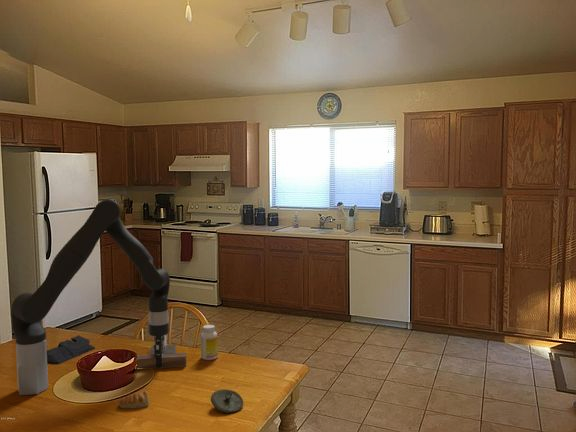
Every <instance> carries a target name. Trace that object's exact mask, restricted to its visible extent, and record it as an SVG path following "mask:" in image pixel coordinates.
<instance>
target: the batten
mask: <svg viewBox="0 0 576 432" xmlns="http://www.w3.org/2000/svg"><path fill="white" fill-rule="evenodd" d="M157 355H160V354H157ZM136 356H137V366H136V369H137V368H153V369H158V368H157V367H156V358H155V355H149V354H145V355H144V354H142V355H138V354H137V355H136ZM162 356H163V357H162V367H161V368H160V369H167V368H181V367H182V368H184V367H187V352H178V353H177V352H175V353H172V354H162ZM137 370H138V369H137Z"/></svg>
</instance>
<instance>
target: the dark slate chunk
mask: <svg viewBox="0 0 576 432" xmlns="http://www.w3.org/2000/svg"><path fill="white" fill-rule="evenodd" d="M90 342H91V341H90V340H89V338H86V337H83V336H81V335H76V336H74V337H72V338H70V340H69V339H66V340H64V341H60V342H59V343H58V345H57V346H56V347H53V348H50V349H48V350H47V363H51V364H54V365H59V364H63V363H66V362H67V361H70V360H73V359H74V358H78V357H80V356H82V355H84V354H86V353H89V352H91V351H93V350H95V349H96V347H95V346H93V345H92V344H91V343H90Z"/></svg>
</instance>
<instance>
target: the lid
mask: <svg viewBox="0 0 576 432" xmlns="http://www.w3.org/2000/svg"><path fill="white" fill-rule="evenodd" d="M210 402H211V404H212V406H213V407H214V408H215V409H216V410H217V411H220V412H221V413H224V414H235V413H237V412H239V411H241V410H242V408H243V407H244V400H243V397H242V396H241V395H240V393H238V392H237V391H234V390H231V389H225V388H224V389H218V390H215V391H213V392H212V394H211V395H210Z"/></svg>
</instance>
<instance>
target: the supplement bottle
mask: <svg viewBox="0 0 576 432" xmlns="http://www.w3.org/2000/svg"><path fill="white" fill-rule="evenodd" d="M202 330H203V332H201V334H200V356H201V359H202V360H205V361H211V360H215V359H217V358H218V356H219V355H218V354H219V351H218V350H219V348H218V347H219V345H218V333H217V331H215V330H216V327H215V325H214V324H206V325H203V326H202Z"/></svg>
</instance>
